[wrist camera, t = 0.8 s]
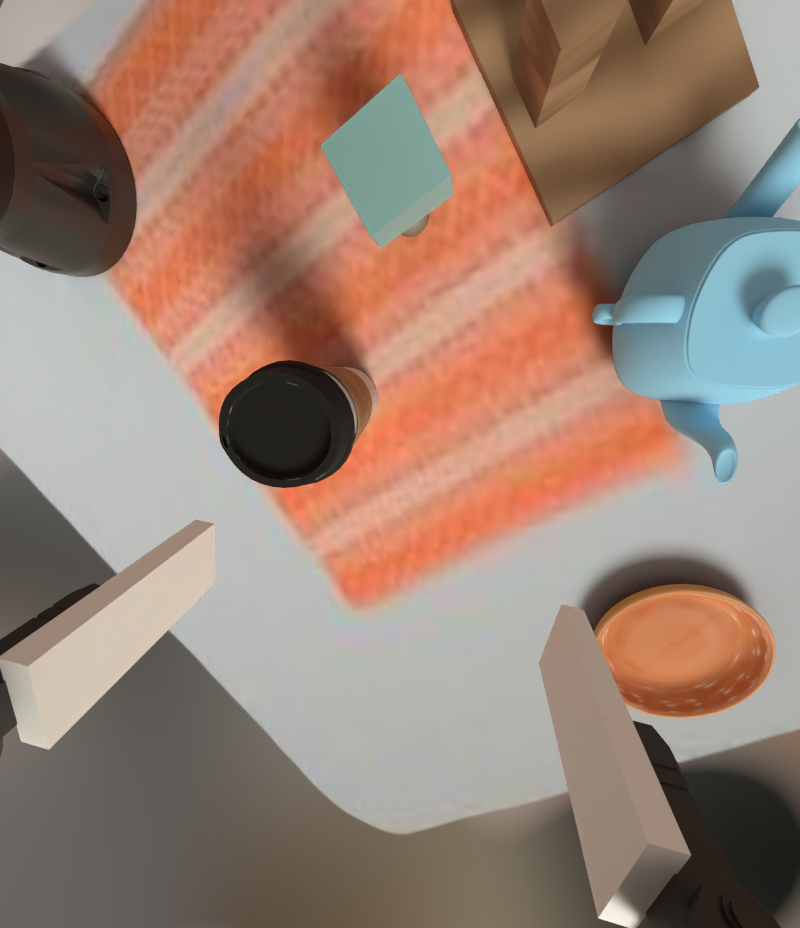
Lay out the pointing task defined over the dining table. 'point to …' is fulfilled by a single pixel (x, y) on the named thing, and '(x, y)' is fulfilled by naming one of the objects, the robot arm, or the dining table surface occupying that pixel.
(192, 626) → the dining table surface
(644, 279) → the teapot
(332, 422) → the coffee cup
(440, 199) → the peg
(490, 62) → the bracket
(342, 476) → the dining table surface
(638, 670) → the saucer
